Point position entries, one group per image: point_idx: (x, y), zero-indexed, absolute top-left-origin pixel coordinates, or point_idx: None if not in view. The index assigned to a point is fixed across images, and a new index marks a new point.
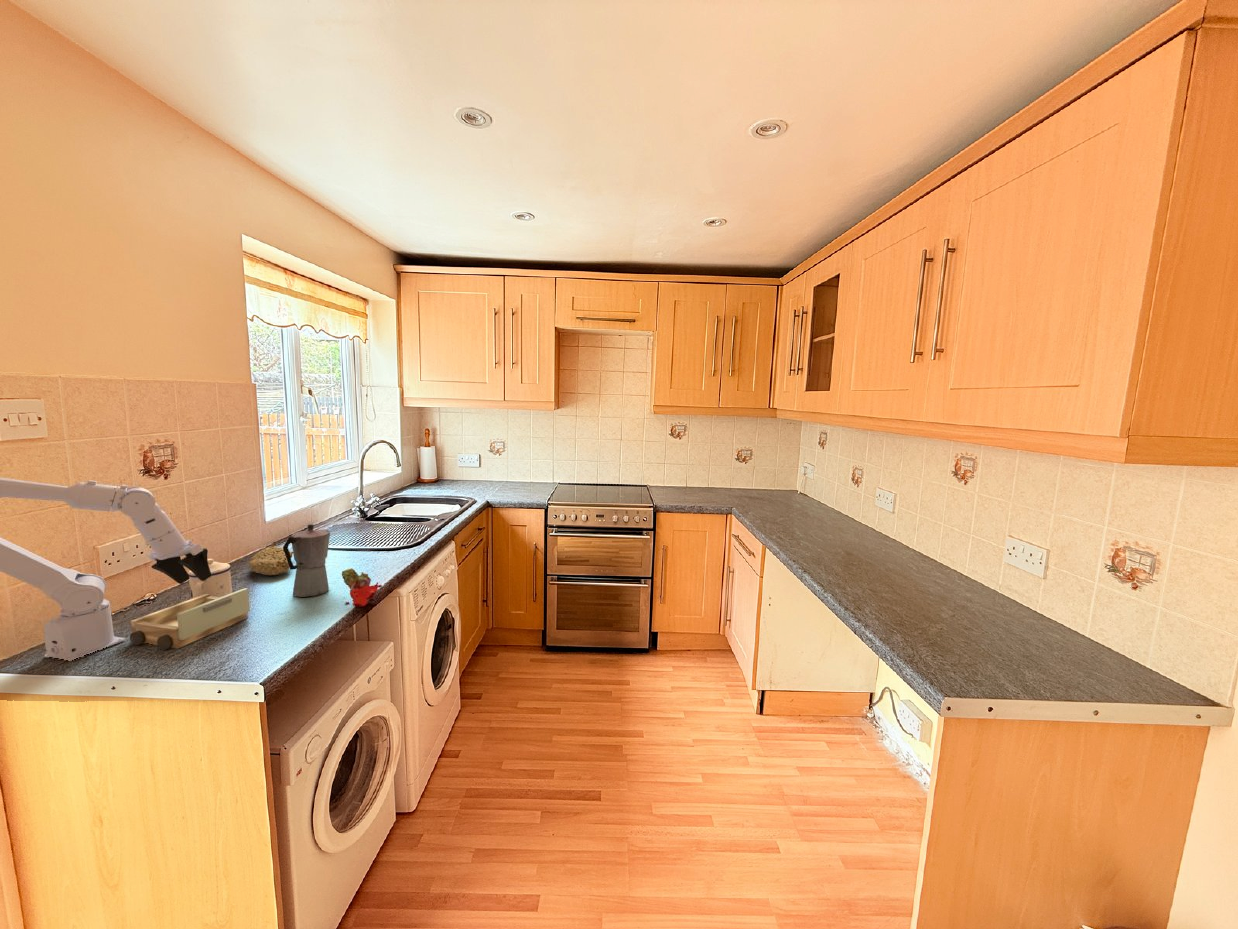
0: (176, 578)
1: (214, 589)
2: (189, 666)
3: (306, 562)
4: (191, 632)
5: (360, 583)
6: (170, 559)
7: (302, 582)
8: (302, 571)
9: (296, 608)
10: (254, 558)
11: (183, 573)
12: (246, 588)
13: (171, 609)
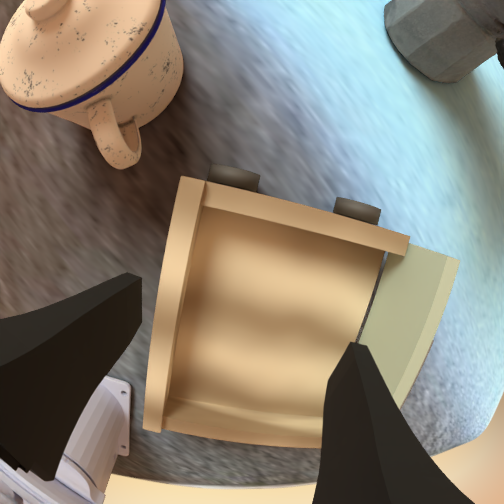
0: (115, 355)
1: (151, 90)
2: None
3: None
4: None
5: None
6: (19, 438)
7: (465, 60)
8: (489, 41)
9: (463, 162)
10: None
11: (108, 316)
12: (455, 260)
13: (173, 340)
